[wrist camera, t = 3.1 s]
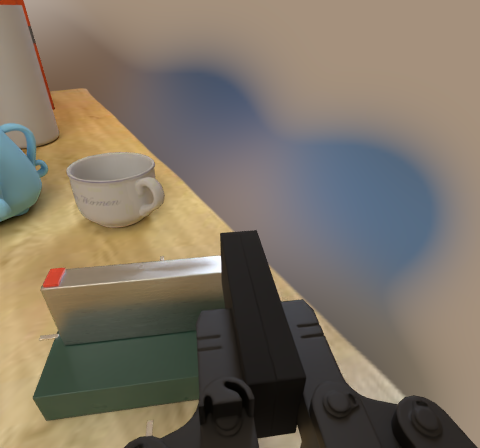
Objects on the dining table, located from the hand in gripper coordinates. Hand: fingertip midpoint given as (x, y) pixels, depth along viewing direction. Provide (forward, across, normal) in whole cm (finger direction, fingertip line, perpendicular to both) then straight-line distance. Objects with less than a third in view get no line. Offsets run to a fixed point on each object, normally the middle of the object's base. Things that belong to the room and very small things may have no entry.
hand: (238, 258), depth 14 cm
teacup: (+31, -11, -16) cm, 36 cm away
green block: (+9, -5, -16) cm, 19 cm away
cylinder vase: (+67, -37, -16) cm, 79 cm away
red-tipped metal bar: (+8, -5, -13) cm, 17 cm away
